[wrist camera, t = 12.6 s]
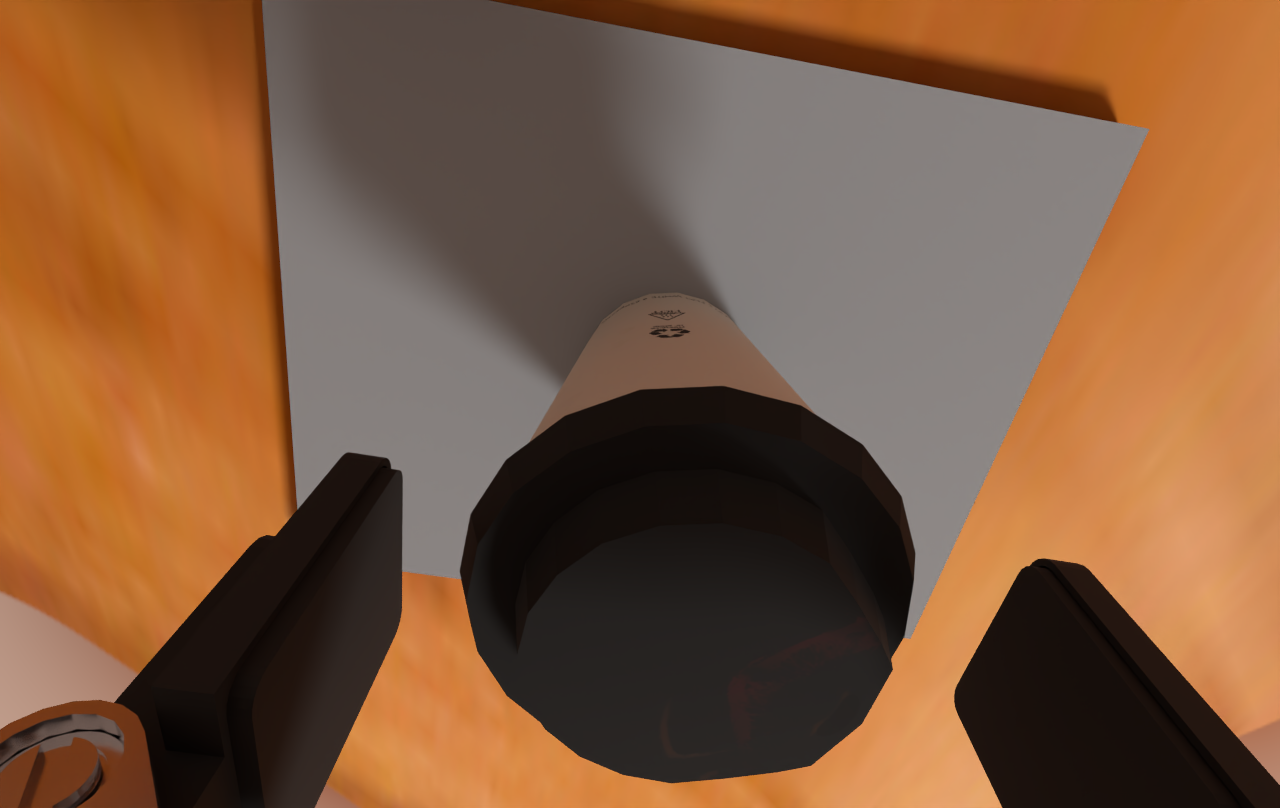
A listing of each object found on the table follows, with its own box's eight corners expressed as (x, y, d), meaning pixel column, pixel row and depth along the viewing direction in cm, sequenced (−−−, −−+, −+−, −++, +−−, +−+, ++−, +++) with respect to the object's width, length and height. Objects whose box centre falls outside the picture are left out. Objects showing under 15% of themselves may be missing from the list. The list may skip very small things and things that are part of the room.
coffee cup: (502, 431, 18) (373, 756, 9) (596, 198, 16) (540, 344, 7) (721, 514, 20) (790, 871, 11) (844, 312, 17) (1076, 564, 8)
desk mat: (1120, 126, 16) (1149, 129, 15) (899, 617, 23) (910, 638, 22) (281, -37, 15) (258, -45, 14) (315, 538, 21) (300, 557, 20)
